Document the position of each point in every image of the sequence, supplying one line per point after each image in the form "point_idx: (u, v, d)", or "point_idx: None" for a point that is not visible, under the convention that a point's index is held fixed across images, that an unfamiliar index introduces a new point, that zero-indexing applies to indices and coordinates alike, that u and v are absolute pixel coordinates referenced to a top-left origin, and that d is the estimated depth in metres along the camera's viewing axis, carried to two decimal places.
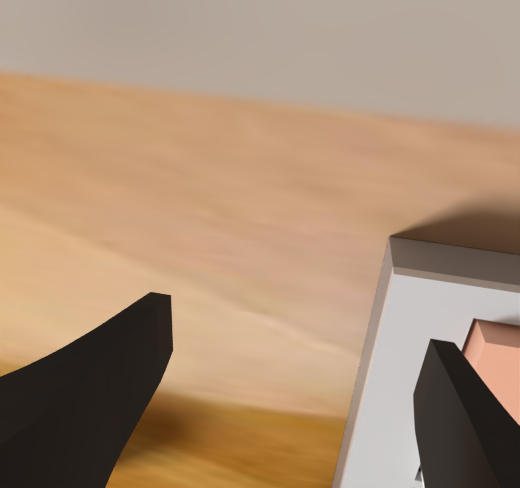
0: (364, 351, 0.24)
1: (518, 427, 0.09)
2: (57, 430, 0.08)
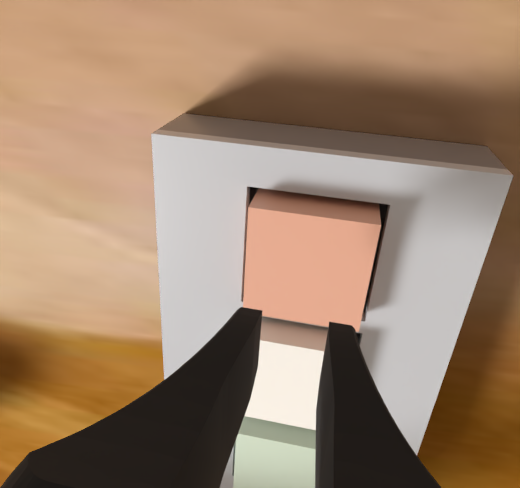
0: None
1: (379, 401, 0.09)
2: (198, 460, 0.08)
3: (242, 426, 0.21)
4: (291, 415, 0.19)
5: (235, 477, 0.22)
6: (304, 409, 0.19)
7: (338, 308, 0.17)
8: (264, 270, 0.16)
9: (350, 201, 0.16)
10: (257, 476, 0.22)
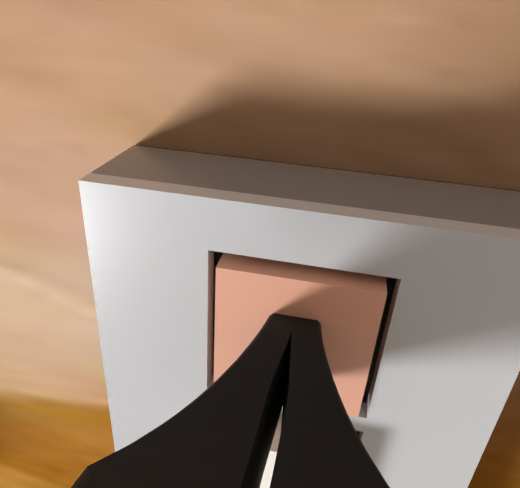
0: None
1: (333, 392, 0.09)
2: (250, 472, 0.08)
3: None
4: None
5: None
6: None
7: None
8: (238, 342, 0.13)
9: None
10: None
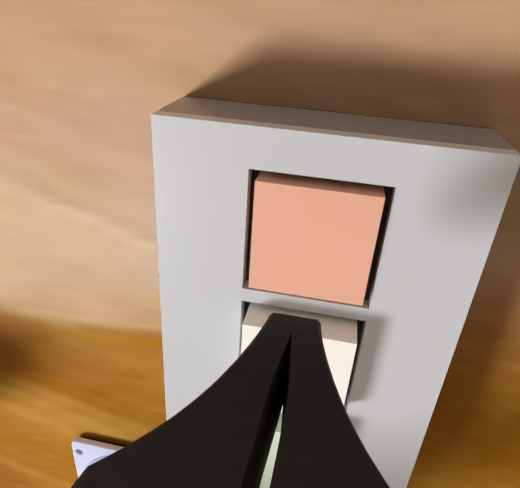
0: None
1: (333, 392, 0.09)
2: (250, 472, 0.08)
3: None
4: None
5: None
6: None
7: (343, 281, 0.17)
8: (269, 245, 0.17)
9: None
10: None
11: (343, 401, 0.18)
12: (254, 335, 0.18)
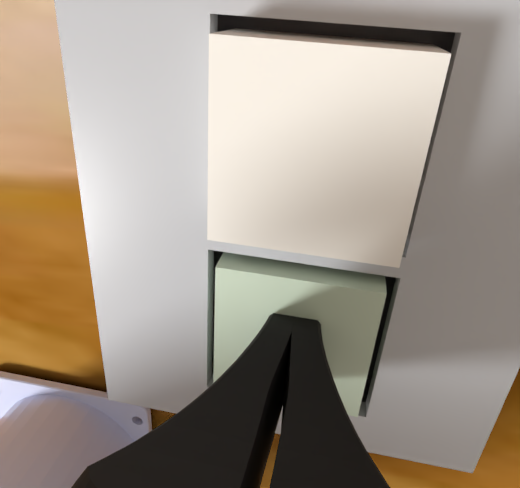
0: None
1: (333, 392, 0.09)
2: (250, 472, 0.08)
3: (226, 260, 0.12)
4: (310, 230, 0.10)
5: (216, 359, 0.13)
6: (337, 212, 0.10)
7: None
8: None
9: None
10: None
11: (410, 211, 0.09)
12: (234, 61, 0.09)
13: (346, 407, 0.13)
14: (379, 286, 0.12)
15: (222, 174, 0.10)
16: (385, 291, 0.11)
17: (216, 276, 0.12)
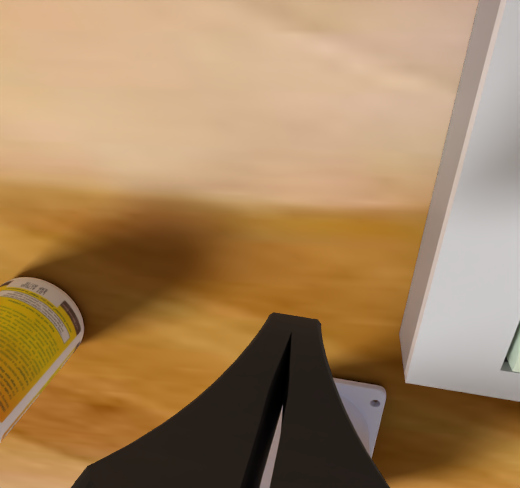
0: (466, 67, 0.16)
1: (333, 392, 0.09)
2: (250, 472, 0.08)
3: None
4: None
5: None
6: None
7: None
8: None
9: None
10: None
11: None
12: None
13: None
14: None
15: None
16: None
17: None
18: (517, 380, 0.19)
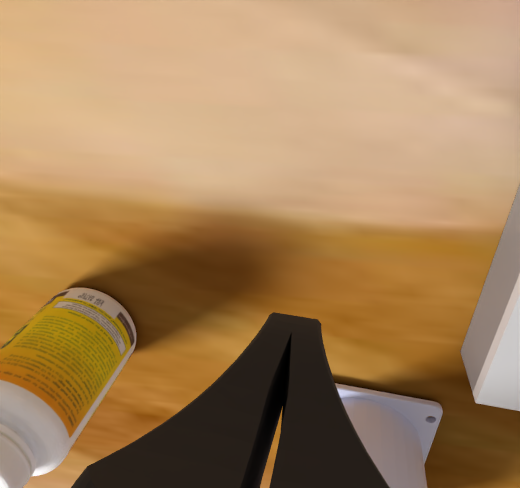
0: None
1: (332, 392, 0.09)
2: (250, 471, 0.08)
3: None
4: None
5: None
6: None
7: None
8: None
9: None
10: None
11: None
12: None
13: None
14: None
15: None
16: None
17: None
18: None
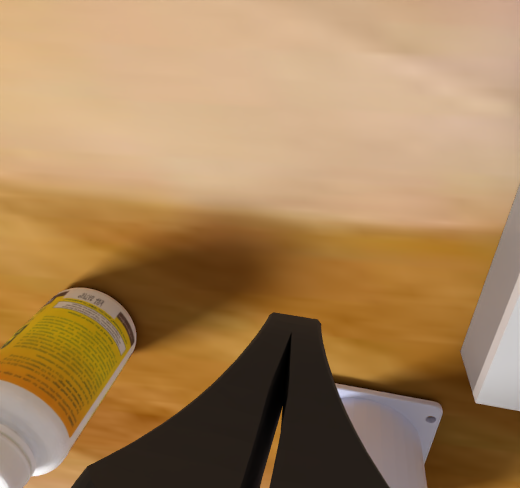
0: None
1: (332, 392, 0.09)
2: (250, 471, 0.08)
3: None
4: None
5: None
6: None
7: None
8: None
9: None
10: None
11: None
12: None
13: None
14: None
15: None
16: None
17: None
18: None
